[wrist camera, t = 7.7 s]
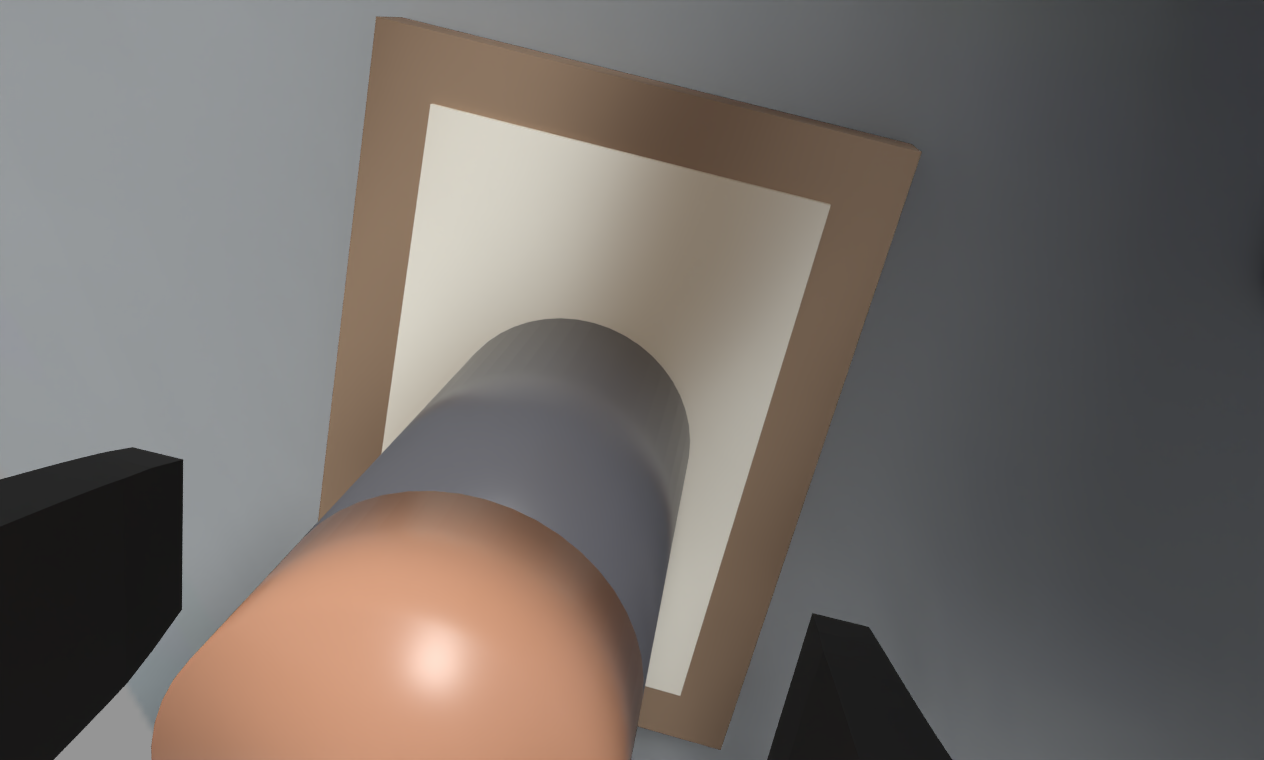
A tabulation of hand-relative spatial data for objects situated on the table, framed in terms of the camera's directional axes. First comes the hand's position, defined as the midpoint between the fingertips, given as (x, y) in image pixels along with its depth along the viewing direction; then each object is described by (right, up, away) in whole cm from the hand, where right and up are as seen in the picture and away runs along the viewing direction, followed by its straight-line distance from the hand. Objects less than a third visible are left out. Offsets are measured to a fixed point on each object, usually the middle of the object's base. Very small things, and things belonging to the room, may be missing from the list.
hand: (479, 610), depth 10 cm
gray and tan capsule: (+1, +2, +5) cm, 5 cm away
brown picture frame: (+1, +2, +6) cm, 6 cm away
